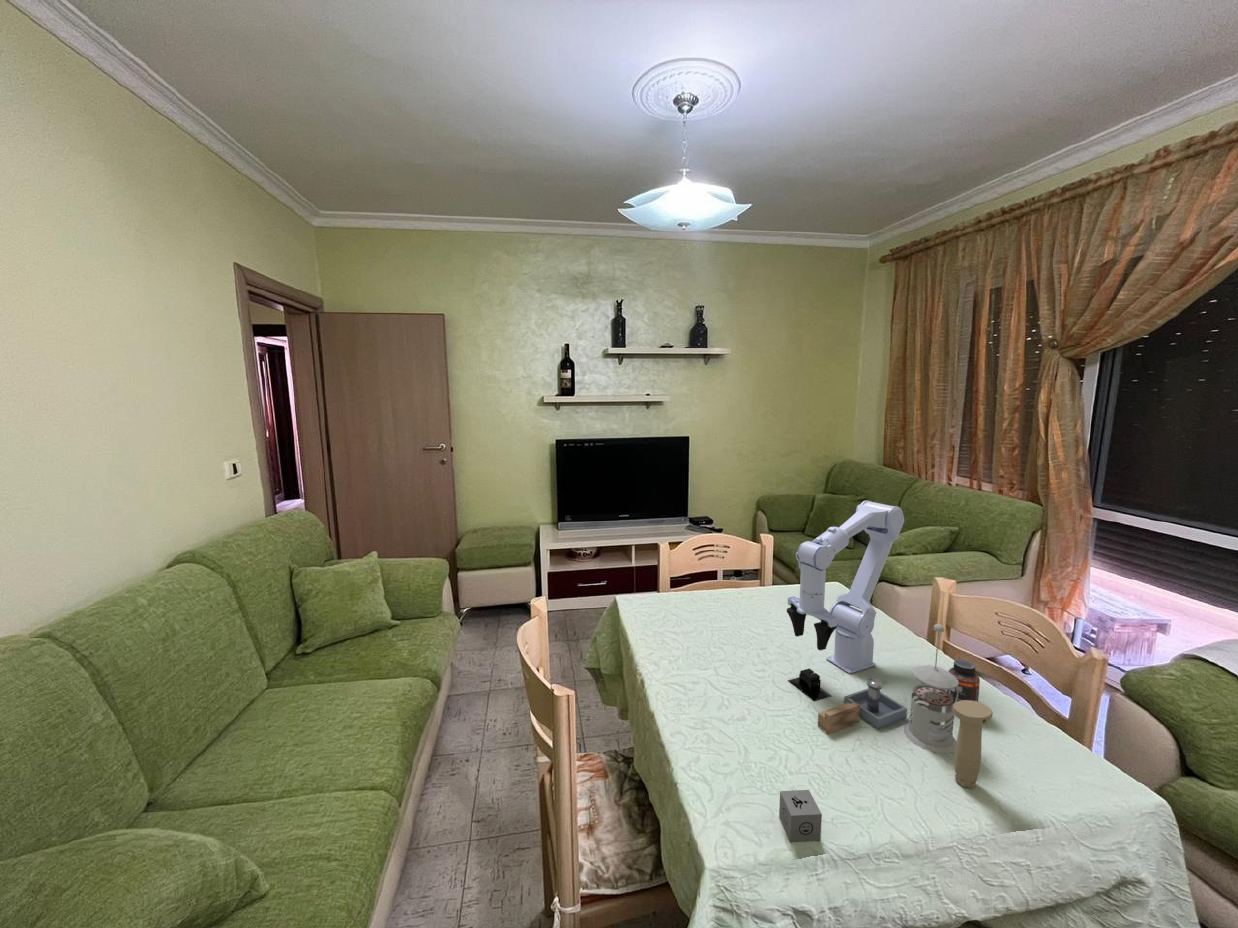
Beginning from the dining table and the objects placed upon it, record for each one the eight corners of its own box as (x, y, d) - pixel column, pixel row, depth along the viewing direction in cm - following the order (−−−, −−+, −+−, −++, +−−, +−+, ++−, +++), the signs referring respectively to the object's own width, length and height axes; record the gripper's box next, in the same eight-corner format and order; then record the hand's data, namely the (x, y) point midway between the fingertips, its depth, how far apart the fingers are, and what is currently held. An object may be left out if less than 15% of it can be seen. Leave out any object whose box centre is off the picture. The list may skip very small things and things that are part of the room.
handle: (939, 776, 94) (946, 703, 92) (967, 770, 96) (974, 697, 94) (962, 796, 90) (970, 719, 88) (991, 789, 91) (999, 713, 89)
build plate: (839, 701, 118) (840, 683, 118) (815, 709, 116) (816, 690, 115) (803, 674, 130) (804, 657, 129) (780, 680, 127) (780, 663, 127)
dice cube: (779, 816, 86) (780, 790, 85) (807, 815, 86) (808, 789, 86) (790, 842, 81) (791, 815, 80) (820, 841, 81) (821, 813, 81)
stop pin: (872, 703, 115) (873, 676, 114) (884, 711, 112) (886, 683, 112) (861, 707, 114) (863, 679, 113) (873, 715, 111) (875, 687, 110)
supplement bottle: (972, 704, 116) (976, 658, 114) (981, 720, 110) (985, 672, 108) (942, 699, 118) (946, 654, 116) (949, 715, 112) (953, 668, 110)
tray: (871, 696, 119) (872, 686, 119) (906, 718, 111) (907, 708, 111) (843, 706, 116) (844, 696, 115) (877, 730, 107) (878, 719, 107)
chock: (847, 714, 113) (848, 697, 112) (859, 722, 110) (860, 704, 109) (817, 725, 109) (818, 707, 109) (828, 733, 106) (829, 715, 106)
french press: (892, 728, 108) (900, 619, 104) (929, 714, 112) (937, 609, 109) (937, 759, 99) (947, 640, 95) (974, 742, 103) (985, 628, 100)
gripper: (779, 583, 128) (777, 632, 130) (822, 604, 115) (820, 659, 117) (800, 578, 131) (798, 627, 133) (845, 599, 118) (842, 652, 120)
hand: (810, 642), depth 125 cm, fingers open, 7 cm apart
